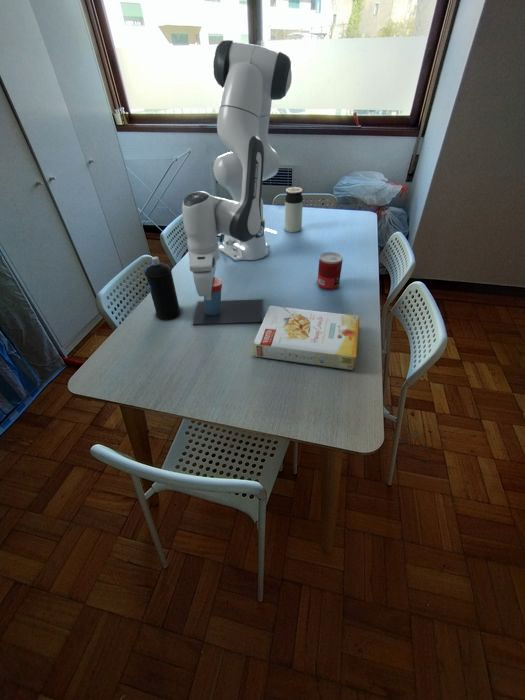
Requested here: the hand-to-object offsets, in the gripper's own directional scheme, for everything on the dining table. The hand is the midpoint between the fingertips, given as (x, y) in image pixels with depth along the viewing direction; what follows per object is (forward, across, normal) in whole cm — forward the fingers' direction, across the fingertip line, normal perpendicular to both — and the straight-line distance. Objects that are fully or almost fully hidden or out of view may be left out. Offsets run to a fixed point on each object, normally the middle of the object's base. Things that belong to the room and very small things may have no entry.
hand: (209, 293), depth 111 cm
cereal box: (+8, +17, +30) cm, 35 cm away
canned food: (+8, -16, +41) cm, 45 cm away
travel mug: (+8, -68, +32) cm, 76 cm away
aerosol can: (+8, -1, -15) cm, 17 cm away
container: (+7, 0, 0) cm, 7 cm away
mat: (+8, 0, +5) cm, 9 cm away
